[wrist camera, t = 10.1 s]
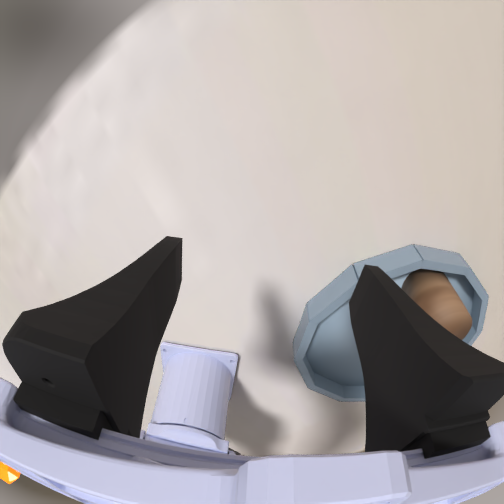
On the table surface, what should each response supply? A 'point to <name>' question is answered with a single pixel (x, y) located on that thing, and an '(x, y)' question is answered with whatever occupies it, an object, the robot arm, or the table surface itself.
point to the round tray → (339, 323)
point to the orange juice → (8, 473)
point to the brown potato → (438, 300)
